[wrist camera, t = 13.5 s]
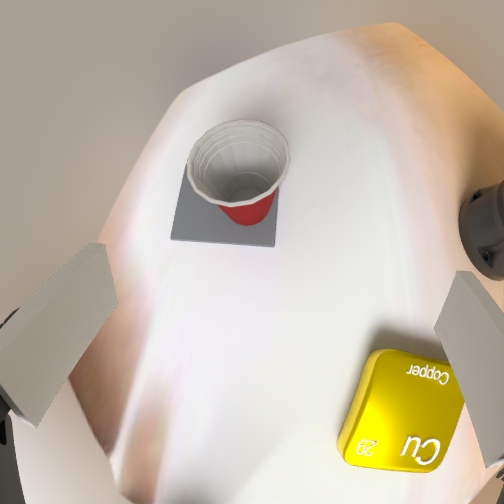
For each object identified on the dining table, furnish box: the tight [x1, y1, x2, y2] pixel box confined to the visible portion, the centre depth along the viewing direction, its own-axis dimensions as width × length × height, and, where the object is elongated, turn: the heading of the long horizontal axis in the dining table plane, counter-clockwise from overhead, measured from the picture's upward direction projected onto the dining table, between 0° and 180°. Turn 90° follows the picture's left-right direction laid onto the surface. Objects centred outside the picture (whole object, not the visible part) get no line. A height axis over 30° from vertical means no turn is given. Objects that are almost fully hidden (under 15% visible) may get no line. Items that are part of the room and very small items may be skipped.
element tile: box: [337, 349, 465, 473], centre depth 30 cm, size 15×15×5 cm
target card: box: [170, 164, 279, 247], centre depth 42 cm, size 14×12×1 cm
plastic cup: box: [187, 119, 290, 226], centre depth 36 cm, size 11×11×12 cm
